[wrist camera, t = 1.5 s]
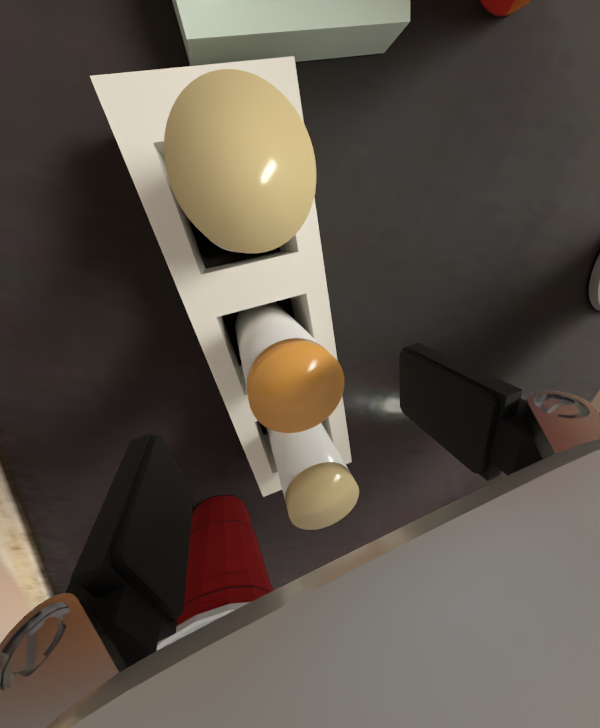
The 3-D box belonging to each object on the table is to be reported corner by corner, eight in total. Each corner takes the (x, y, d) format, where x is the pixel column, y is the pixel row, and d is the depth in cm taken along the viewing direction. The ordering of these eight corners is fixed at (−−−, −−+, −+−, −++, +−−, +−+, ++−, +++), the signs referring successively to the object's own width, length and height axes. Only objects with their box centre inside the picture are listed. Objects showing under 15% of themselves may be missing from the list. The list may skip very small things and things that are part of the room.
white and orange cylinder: (281, 293, 20) (338, 332, 10) (293, 343, 22) (349, 414, 12) (227, 307, 19) (234, 364, 10) (244, 357, 21) (263, 445, 12)
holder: (273, 110, 16) (294, 55, 11) (330, 428, 27) (351, 461, 23) (130, 130, 14) (89, 76, 10) (255, 455, 26) (263, 496, 22)
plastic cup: (277, 472, 28) (311, 607, 17) (259, 538, 31) (278, 683, 21) (168, 476, 24) (127, 652, 14) (162, 551, 28) (126, 735, 17)
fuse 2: (300, 377, 24) (355, 464, 14) (309, 413, 26) (361, 511, 16) (255, 392, 23) (281, 494, 13) (267, 428, 25) (297, 539, 15)
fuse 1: (254, 171, 16) (302, 60, 7) (270, 244, 18) (325, 238, 9) (186, 183, 16) (131, 78, 6) (210, 257, 18) (199, 266, 8)
